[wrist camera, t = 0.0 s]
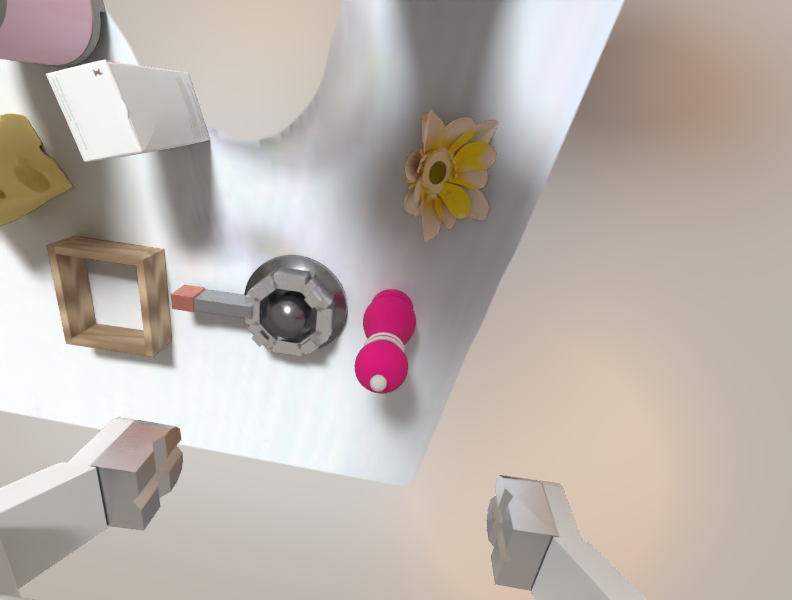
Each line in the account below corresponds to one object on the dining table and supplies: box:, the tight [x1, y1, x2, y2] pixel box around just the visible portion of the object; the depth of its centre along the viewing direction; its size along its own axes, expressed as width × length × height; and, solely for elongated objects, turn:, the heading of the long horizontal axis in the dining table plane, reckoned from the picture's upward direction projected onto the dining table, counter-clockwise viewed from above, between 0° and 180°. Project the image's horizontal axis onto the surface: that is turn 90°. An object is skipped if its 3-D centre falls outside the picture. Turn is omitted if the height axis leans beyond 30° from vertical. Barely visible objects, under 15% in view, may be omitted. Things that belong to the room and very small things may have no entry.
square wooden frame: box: [47, 236, 172, 357], centre depth 63 cm, size 15×13×5 cm
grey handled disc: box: [171, 267, 336, 356], centre depth 61 cm, size 22×12×4 cm, turn 82°
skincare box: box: [46, 60, 210, 162], centre depth 47 cm, size 8×7×16 cm
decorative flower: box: [403, 109, 498, 242], centre depth 51 cm, size 15×11×10 cm
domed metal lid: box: [245, 255, 347, 349], centre depth 61 cm, size 15×15×6 cm
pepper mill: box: [355, 290, 416, 393], centre depth 54 cm, size 7×7×20 cm
